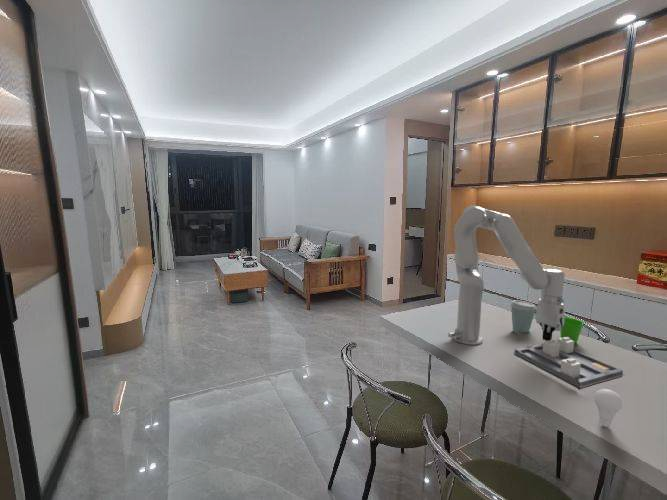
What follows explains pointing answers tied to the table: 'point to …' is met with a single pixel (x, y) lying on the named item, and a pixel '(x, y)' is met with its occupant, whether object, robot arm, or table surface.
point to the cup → (571, 329)
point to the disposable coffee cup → (522, 316)
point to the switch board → (589, 366)
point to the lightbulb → (607, 405)
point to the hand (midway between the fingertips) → (546, 339)
